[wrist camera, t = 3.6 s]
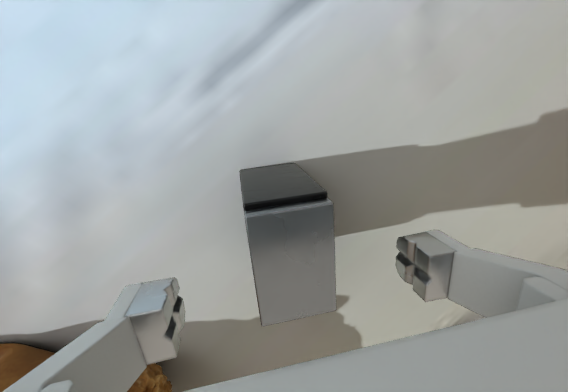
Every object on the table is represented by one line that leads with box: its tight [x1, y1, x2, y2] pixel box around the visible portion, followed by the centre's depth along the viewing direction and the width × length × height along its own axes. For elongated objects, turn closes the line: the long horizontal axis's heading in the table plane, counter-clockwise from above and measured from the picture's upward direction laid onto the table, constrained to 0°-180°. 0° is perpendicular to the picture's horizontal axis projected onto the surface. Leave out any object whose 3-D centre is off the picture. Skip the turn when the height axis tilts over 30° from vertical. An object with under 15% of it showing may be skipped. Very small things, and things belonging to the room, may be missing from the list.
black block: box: [240, 163, 336, 326], centre depth 12 cm, size 5×3×6 cm, turn 5°
